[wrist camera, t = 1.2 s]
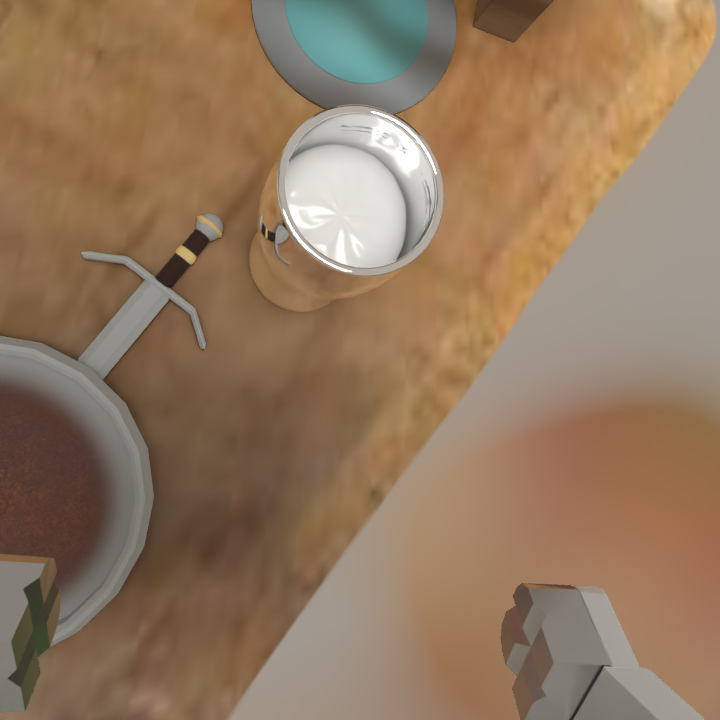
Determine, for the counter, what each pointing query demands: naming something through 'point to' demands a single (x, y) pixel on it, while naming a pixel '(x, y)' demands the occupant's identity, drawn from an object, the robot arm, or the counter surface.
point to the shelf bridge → (374, 45)
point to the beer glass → (344, 208)
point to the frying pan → (83, 447)
